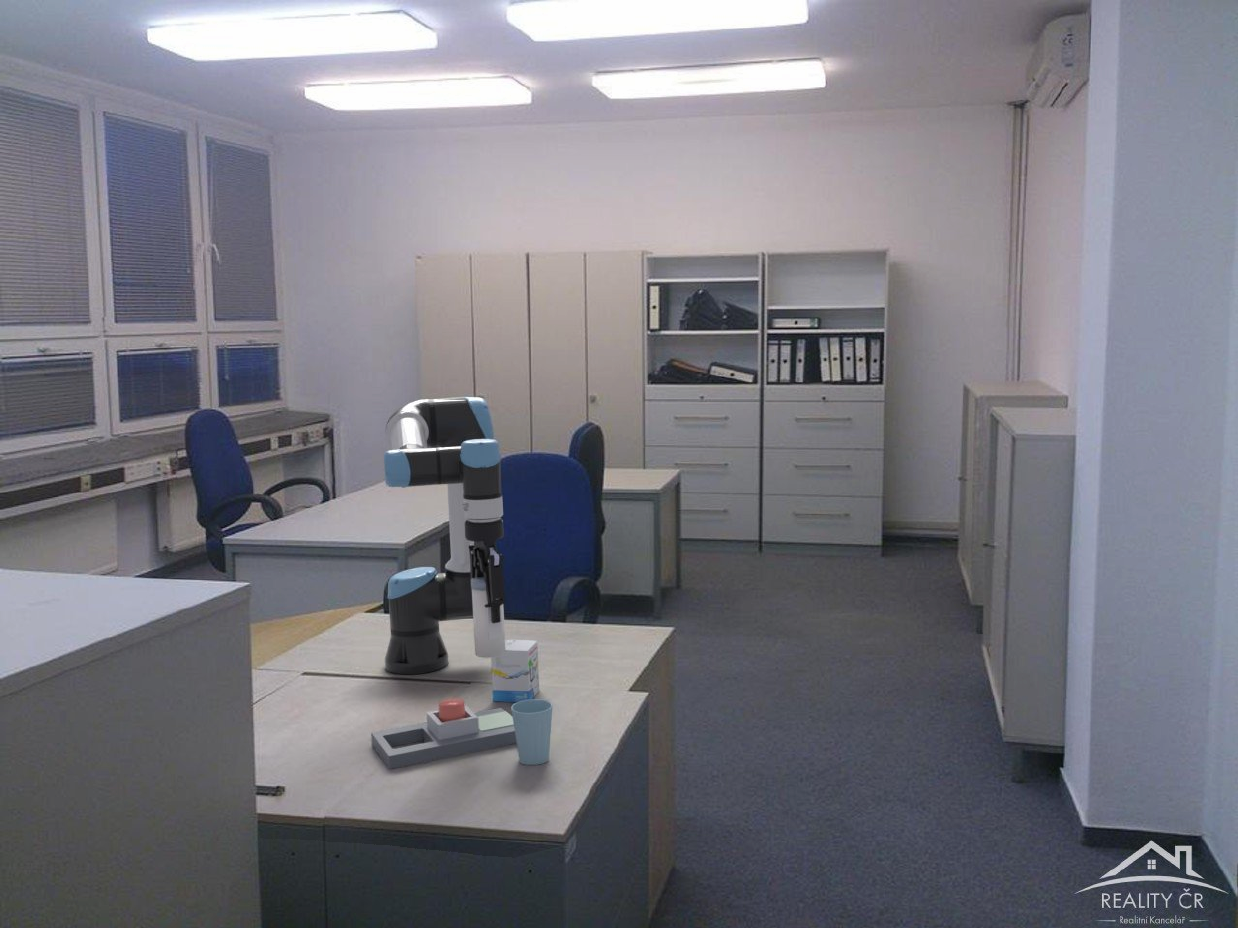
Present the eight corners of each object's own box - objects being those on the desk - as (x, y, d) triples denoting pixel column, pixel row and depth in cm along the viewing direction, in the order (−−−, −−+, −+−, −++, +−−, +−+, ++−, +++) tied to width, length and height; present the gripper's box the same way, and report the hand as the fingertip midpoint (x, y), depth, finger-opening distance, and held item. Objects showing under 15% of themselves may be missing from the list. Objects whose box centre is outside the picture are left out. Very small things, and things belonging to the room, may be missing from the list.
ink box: (529, 703, 238) (527, 650, 236) (492, 701, 240) (489, 649, 238) (540, 690, 246) (538, 639, 245) (503, 688, 248) (501, 638, 246)
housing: (371, 744, 217) (370, 717, 216) (501, 719, 228) (500, 693, 228) (389, 768, 204) (387, 740, 203) (525, 740, 216) (524, 713, 215)
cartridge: (470, 651, 220) (466, 578, 218) (499, 646, 222) (496, 574, 220) (480, 659, 214) (476, 584, 212) (510, 654, 217) (506, 579, 215)
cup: (505, 759, 207) (502, 705, 206) (538, 748, 212) (536, 696, 210) (529, 770, 201) (526, 715, 200) (562, 759, 206) (560, 705, 205)
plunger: (436, 725, 217) (435, 701, 217) (461, 721, 220) (459, 697, 219) (444, 733, 213) (442, 708, 212) (469, 729, 215) (467, 704, 214)
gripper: (450, 514, 222) (456, 625, 225) (481, 528, 205) (487, 648, 208) (486, 510, 225) (491, 620, 228) (518, 523, 208) (524, 642, 211)
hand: (489, 633), depth 218 cm, fingers closed on cartridge, 6 cm apart
